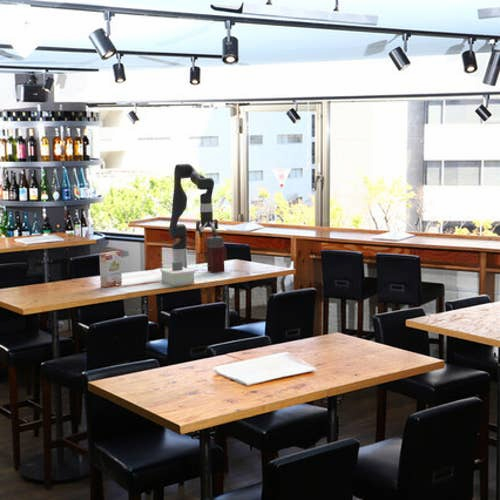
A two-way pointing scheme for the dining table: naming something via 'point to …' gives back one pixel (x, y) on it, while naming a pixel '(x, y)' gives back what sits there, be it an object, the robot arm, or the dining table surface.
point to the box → (178, 279)
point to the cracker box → (110, 268)
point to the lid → (177, 269)
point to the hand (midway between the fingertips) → (207, 237)
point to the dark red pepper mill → (215, 254)
